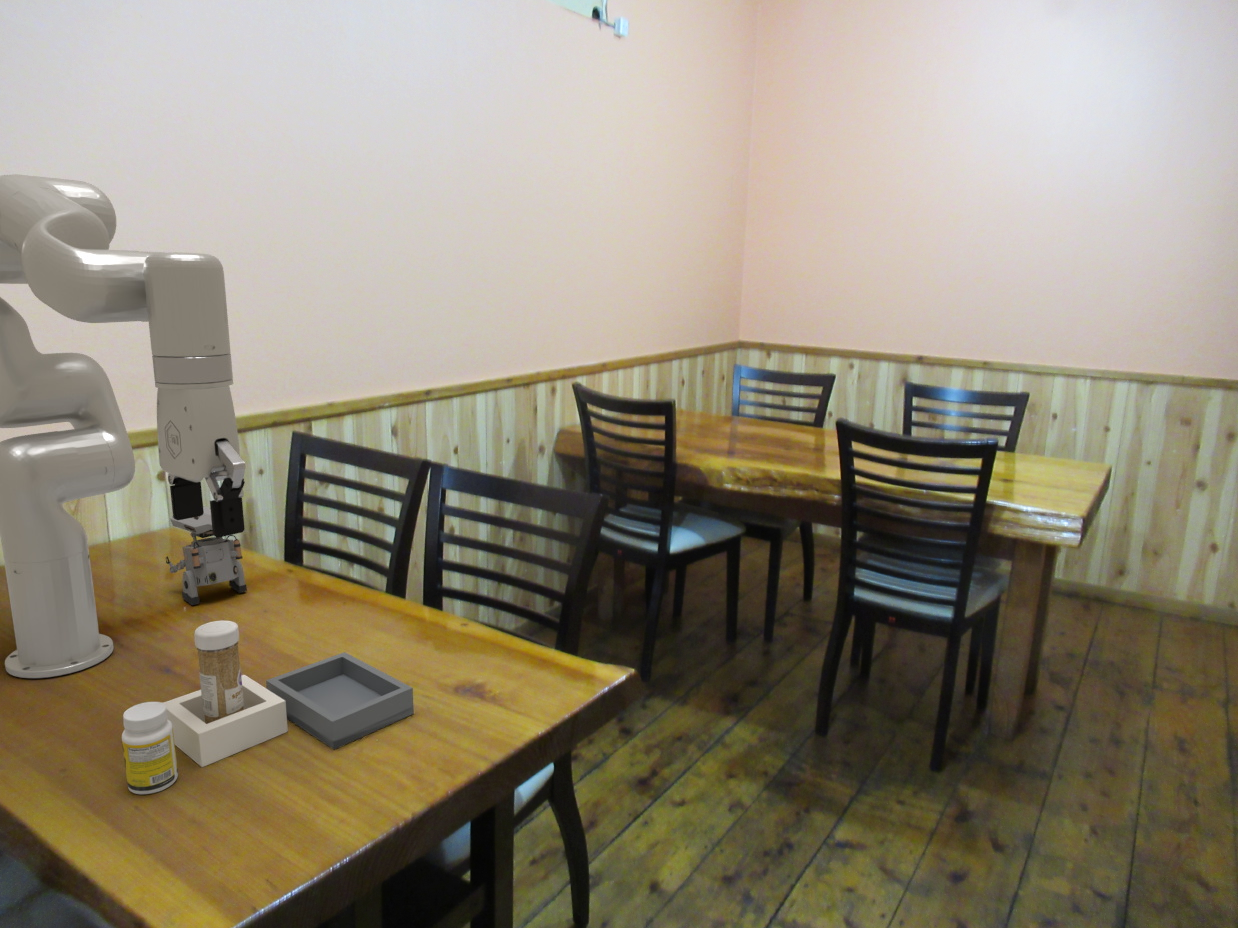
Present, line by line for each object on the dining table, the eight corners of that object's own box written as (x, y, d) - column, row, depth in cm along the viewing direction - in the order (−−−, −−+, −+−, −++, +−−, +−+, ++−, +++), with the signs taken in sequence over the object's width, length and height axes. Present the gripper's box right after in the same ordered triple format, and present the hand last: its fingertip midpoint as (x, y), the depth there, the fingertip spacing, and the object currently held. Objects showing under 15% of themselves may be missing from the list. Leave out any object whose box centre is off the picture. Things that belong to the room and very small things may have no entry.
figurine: (223, 578, 149) (216, 496, 146) (251, 595, 142) (244, 509, 138) (168, 591, 143) (159, 505, 140) (194, 609, 135) (185, 520, 132)
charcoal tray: (268, 705, 106) (266, 680, 105) (345, 675, 114) (344, 651, 113) (334, 749, 96) (332, 721, 96) (413, 713, 105) (412, 687, 104)
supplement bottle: (140, 770, 92) (132, 699, 90) (185, 768, 92) (178, 698, 90) (118, 796, 87) (109, 722, 85) (166, 795, 87) (158, 721, 86)
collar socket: (163, 734, 99) (159, 703, 98) (246, 703, 106) (244, 674, 105) (202, 767, 92) (198, 734, 92) (287, 731, 100) (285, 700, 99)
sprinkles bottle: (250, 736, 99) (241, 629, 96) (207, 747, 96) (197, 638, 93) (243, 719, 102) (234, 615, 99) (201, 730, 100) (191, 623, 97)
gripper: (123, 368, 93) (140, 518, 96) (194, 381, 82) (210, 549, 85) (193, 363, 98) (207, 505, 102) (268, 375, 87) (280, 533, 91)
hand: (208, 525), depth 94 cm, fingers open, 9 cm apart
